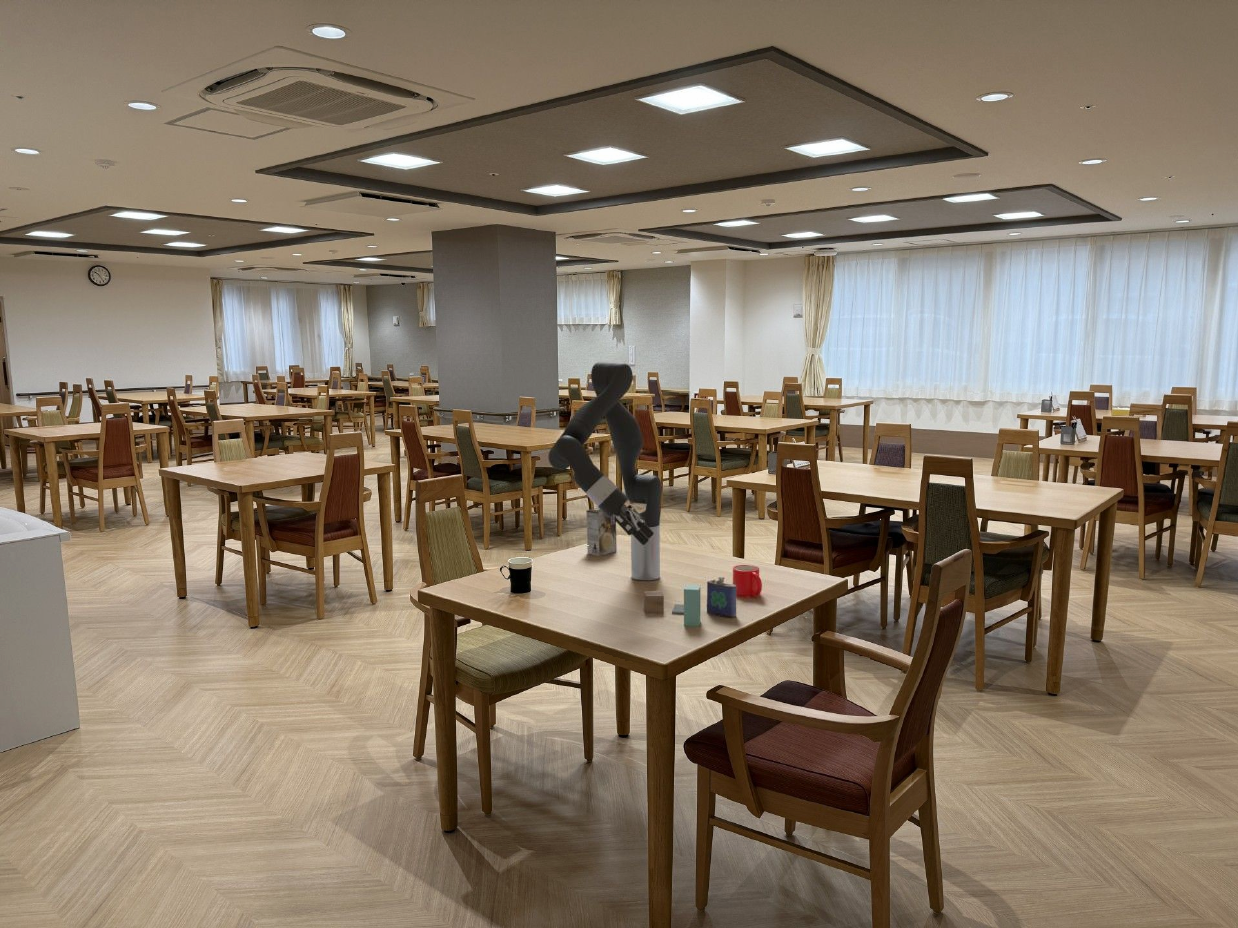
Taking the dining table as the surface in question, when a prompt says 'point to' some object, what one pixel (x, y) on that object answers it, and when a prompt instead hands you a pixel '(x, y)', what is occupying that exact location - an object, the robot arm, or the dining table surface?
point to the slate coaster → (678, 609)
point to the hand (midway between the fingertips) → (649, 539)
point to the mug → (747, 580)
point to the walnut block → (654, 602)
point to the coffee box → (600, 533)
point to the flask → (721, 598)
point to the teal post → (691, 605)
